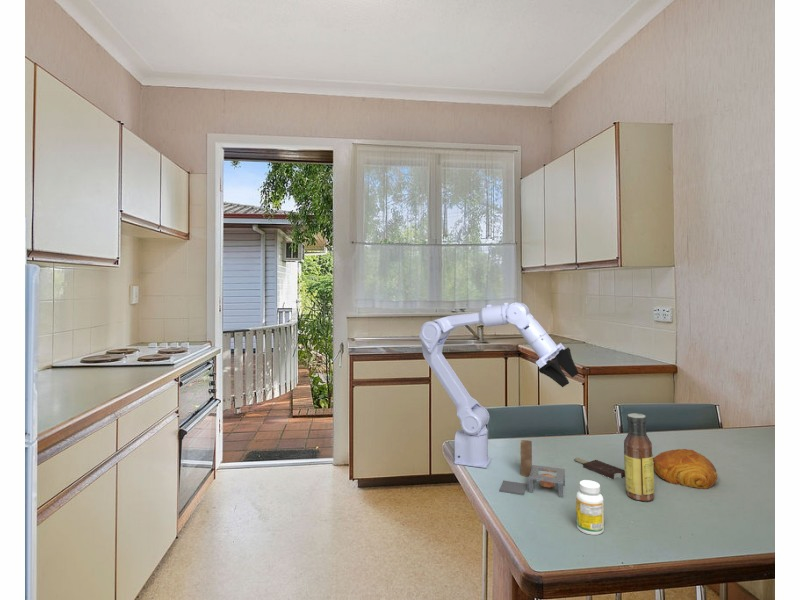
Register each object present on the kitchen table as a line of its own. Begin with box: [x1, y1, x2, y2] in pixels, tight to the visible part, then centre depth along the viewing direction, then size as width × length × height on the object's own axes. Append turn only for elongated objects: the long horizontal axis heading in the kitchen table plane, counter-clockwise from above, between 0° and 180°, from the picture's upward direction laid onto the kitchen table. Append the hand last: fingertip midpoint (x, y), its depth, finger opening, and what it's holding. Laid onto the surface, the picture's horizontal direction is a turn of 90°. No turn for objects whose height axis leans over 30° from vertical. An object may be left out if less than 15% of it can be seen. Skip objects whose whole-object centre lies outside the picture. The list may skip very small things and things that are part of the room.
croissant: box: [653, 448, 718, 490], centre depth 121 cm, size 14×16×8 cm
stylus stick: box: [520, 439, 533, 478], centre depth 124 cm, size 3×3×9 cm
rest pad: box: [498, 479, 528, 496], centre depth 116 cm, size 6×6×1 cm
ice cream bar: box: [574, 457, 625, 480], centre depth 127 cm, size 5×2×15 cm
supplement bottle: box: [575, 479, 605, 536], centre depth 96 cm, size 5×5×10 cm
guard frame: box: [528, 464, 566, 499], centre depth 115 cm, size 8×8×4 cm
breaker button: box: [539, 473, 555, 488], centre depth 115 cm, size 3×3×2 cm
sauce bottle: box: [623, 412, 655, 502], centre depth 110 cm, size 7×6×20 cm
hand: (570, 380), depth 121 cm, fingers open, 7 cm apart
